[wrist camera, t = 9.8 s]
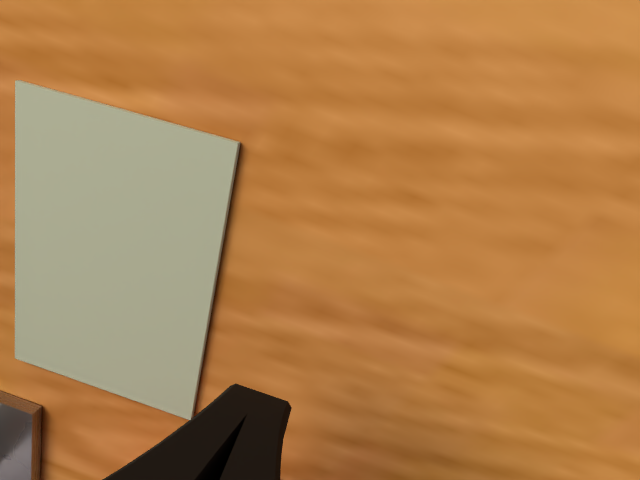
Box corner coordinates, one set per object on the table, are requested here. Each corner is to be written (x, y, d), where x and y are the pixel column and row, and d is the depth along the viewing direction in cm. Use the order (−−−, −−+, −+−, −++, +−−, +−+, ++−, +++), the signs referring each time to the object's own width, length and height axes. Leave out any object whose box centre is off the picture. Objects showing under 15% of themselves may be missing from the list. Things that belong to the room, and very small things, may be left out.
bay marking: (192, 416, 17) (190, 420, 17) (19, 355, 18) (15, 358, 18) (240, 142, 14) (238, 143, 14) (20, 80, 15) (15, 80, 14)
